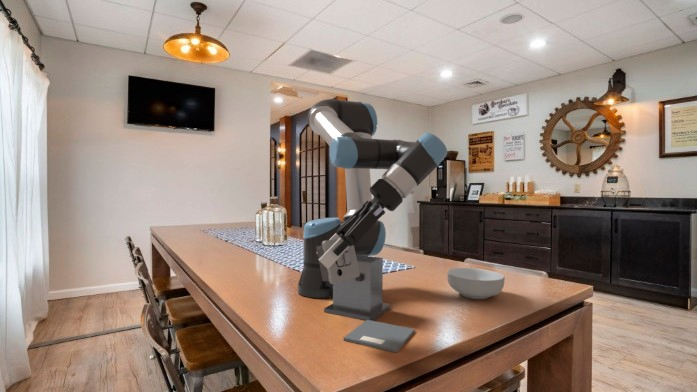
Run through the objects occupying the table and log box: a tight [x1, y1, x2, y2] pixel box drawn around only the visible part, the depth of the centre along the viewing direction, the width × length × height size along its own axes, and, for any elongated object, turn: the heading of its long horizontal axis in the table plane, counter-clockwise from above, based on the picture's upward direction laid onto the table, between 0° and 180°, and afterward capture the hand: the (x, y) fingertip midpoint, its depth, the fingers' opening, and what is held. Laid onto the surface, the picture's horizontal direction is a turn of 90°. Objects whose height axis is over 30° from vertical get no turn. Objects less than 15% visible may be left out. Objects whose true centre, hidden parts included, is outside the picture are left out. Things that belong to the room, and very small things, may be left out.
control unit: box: [323, 255, 391, 321], centre depth 94 cm, size 14×12×14 cm
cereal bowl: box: [446, 267, 505, 300], centre depth 109 cm, size 17×17×7 cm
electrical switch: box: [316, 238, 360, 284], centre depth 78 cm, size 9×5×9 cm, turn 138°
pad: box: [343, 320, 415, 353], centre depth 77 cm, size 12×12×1 cm
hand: (321, 260), depth 78 cm, fingers closed on electrical switch, 8 cm apart
